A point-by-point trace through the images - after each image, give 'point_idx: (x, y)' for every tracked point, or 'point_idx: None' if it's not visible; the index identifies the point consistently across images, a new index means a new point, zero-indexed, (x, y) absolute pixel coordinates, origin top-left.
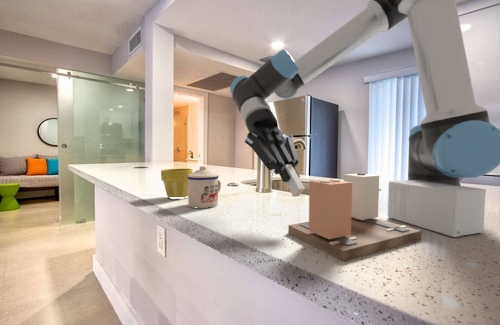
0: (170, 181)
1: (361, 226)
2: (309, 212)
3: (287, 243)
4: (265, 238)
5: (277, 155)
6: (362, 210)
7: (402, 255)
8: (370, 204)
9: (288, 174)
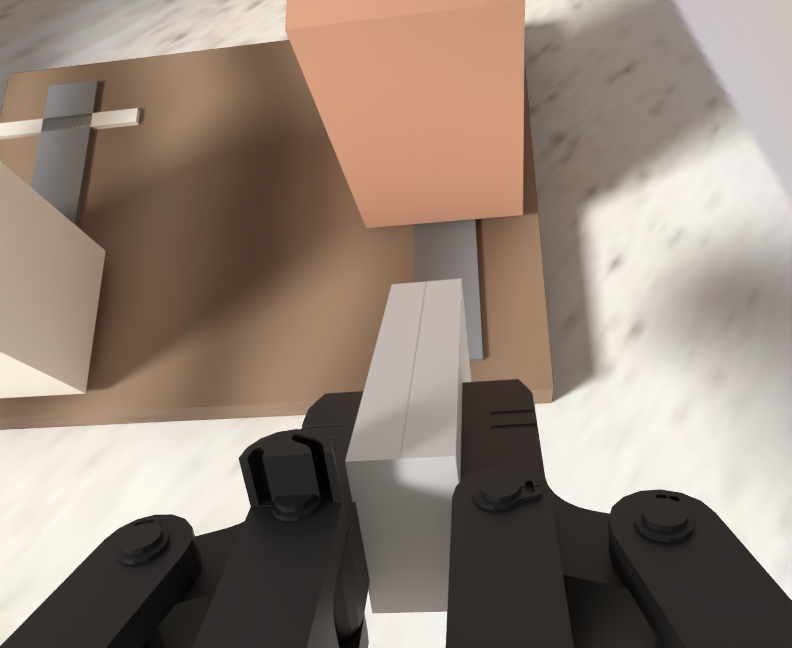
0: None
1: (179, 207)
2: (522, 153)
3: (643, 269)
4: (736, 380)
5: (527, 636)
6: (71, 222)
7: (268, 19)
8: None
9: (466, 412)
